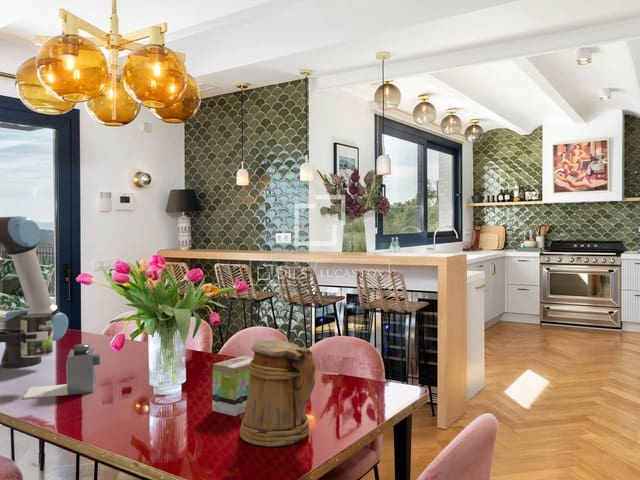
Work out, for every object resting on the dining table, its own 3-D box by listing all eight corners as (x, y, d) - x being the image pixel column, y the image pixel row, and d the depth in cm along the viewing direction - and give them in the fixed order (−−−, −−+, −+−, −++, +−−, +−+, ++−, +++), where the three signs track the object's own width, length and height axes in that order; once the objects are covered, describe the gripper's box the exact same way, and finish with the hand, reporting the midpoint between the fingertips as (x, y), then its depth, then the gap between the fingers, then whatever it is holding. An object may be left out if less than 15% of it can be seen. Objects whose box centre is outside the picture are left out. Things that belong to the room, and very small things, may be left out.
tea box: (236, 417, 160) (236, 367, 160) (211, 411, 165) (211, 363, 165) (267, 403, 173) (267, 357, 172) (243, 398, 178) (242, 354, 178)
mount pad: (30, 389, 191) (30, 387, 191) (71, 385, 195) (71, 383, 195) (23, 399, 179) (23, 397, 179) (67, 394, 184) (67, 392, 184)
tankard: (270, 418, 158) (269, 334, 158) (336, 435, 145) (335, 342, 145) (226, 437, 144) (225, 344, 143) (295, 458, 130) (294, 355, 130)
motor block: (70, 385, 195) (69, 343, 195) (101, 382, 198) (100, 341, 198) (66, 394, 184) (65, 349, 183) (99, 391, 187) (98, 347, 187)
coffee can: (59, 352, 195) (59, 313, 195) (38, 358, 185) (38, 317, 185) (35, 351, 197) (35, 312, 197) (13, 357, 187) (13, 316, 187)
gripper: (-12, 341, 196) (55, 337, 203) (-32, 354, 175) (44, 349, 181) (-12, 321, 196) (55, 318, 203) (-32, 331, 175) (44, 327, 181)
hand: (50, 332), depth 192 cm, fingers closed on coffee can, 10 cm apart
